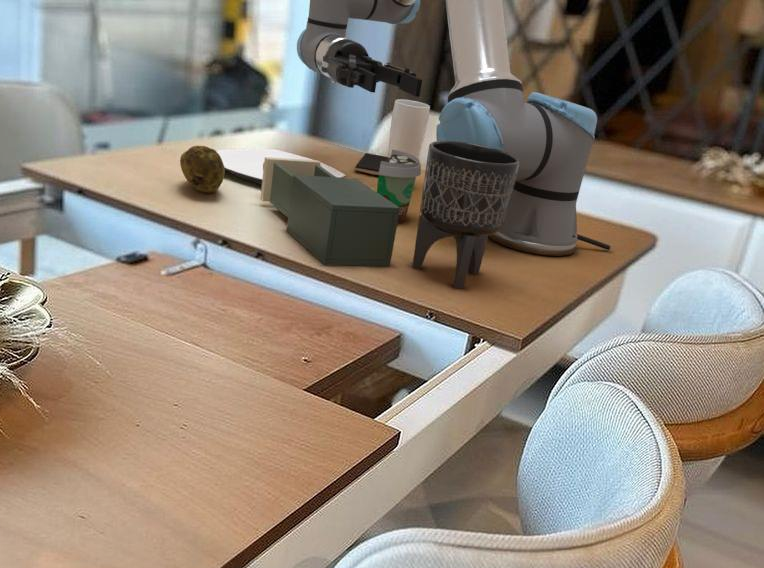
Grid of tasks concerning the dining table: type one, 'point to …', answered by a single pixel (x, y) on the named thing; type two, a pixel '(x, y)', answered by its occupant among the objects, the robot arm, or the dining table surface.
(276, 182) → the drawer
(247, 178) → the plate
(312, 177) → the cabinet
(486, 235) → the planter
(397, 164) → the food container
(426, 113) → the drinking glass
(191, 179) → the potato
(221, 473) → the dining table surface
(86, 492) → the dining table surface
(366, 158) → the smartphone
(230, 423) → the dining table surface
